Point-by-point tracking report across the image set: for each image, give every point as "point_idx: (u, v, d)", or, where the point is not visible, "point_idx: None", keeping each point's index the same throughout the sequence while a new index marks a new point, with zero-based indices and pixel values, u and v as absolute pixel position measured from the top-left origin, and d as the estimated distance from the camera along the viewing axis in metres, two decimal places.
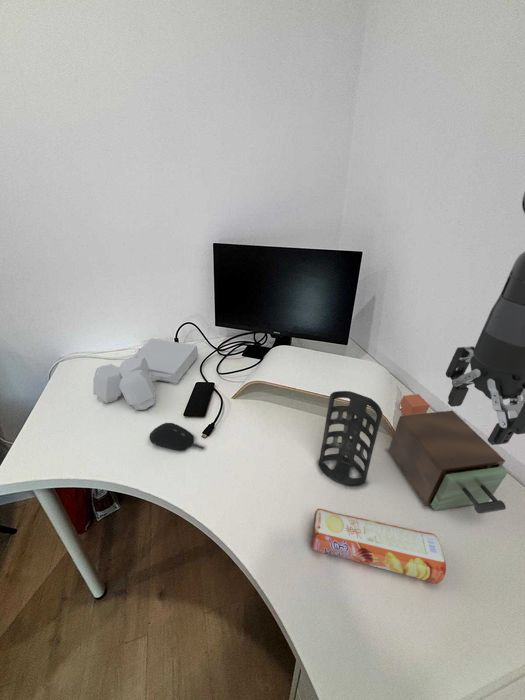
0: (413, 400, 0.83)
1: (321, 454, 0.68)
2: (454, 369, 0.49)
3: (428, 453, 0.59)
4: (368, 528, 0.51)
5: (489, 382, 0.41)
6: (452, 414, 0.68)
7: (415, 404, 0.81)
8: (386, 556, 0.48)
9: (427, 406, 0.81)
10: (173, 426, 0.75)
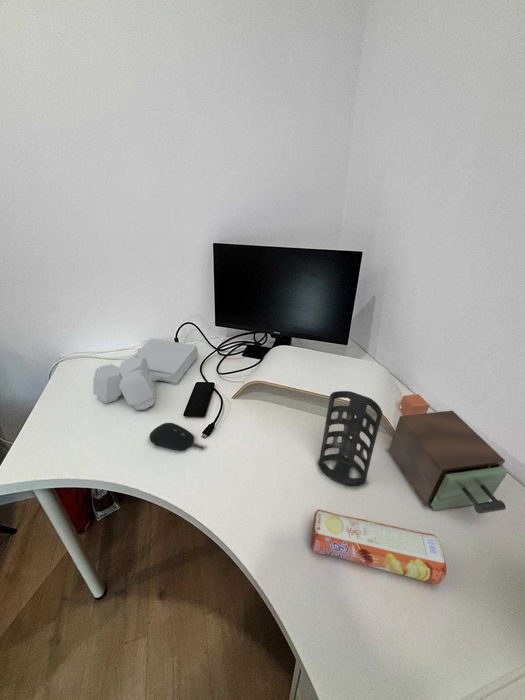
0: (413, 400, 0.83)
1: (321, 454, 0.68)
2: None
3: (428, 453, 0.59)
4: (368, 529, 0.51)
5: None
6: (452, 414, 0.68)
7: (415, 404, 0.81)
8: (386, 557, 0.48)
9: (427, 406, 0.81)
10: (173, 426, 0.75)
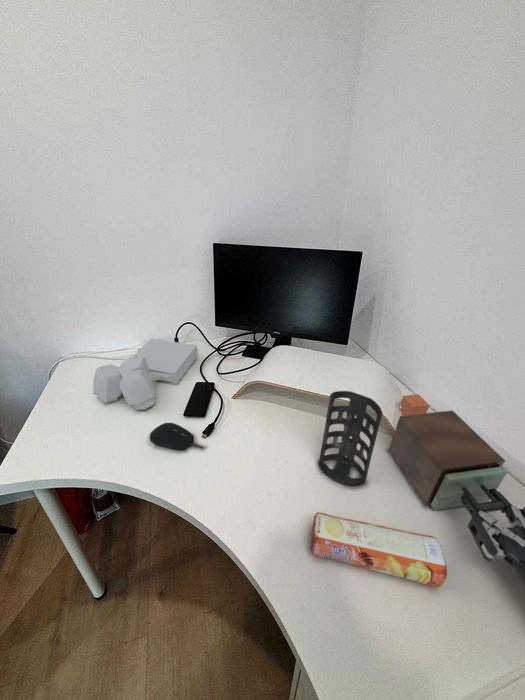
0: (413, 400, 0.83)
1: (321, 454, 0.68)
2: None
3: (428, 453, 0.59)
4: (368, 531, 0.50)
5: (523, 541, 0.47)
6: (452, 414, 0.68)
7: (415, 404, 0.81)
8: (386, 560, 0.47)
9: (427, 406, 0.81)
10: (173, 425, 0.75)
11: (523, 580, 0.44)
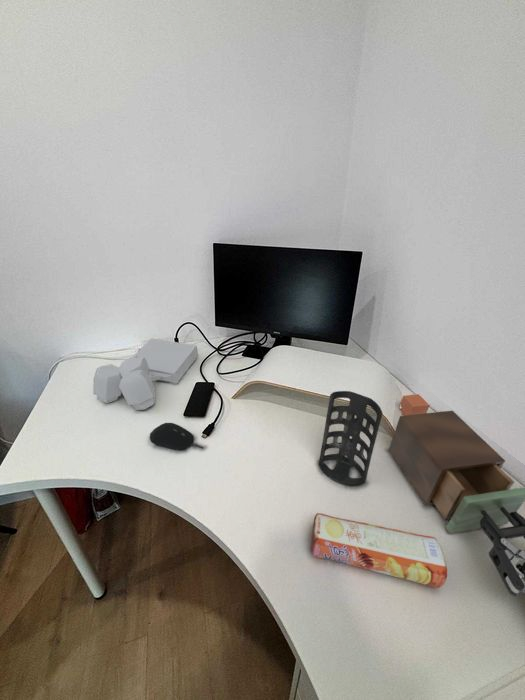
0: (413, 400, 0.83)
1: (321, 454, 0.68)
2: None
3: (428, 453, 0.59)
4: (368, 532, 0.50)
5: None
6: (452, 414, 0.68)
7: (415, 404, 0.81)
8: (386, 561, 0.47)
9: (427, 406, 0.81)
10: (173, 425, 0.75)
11: None
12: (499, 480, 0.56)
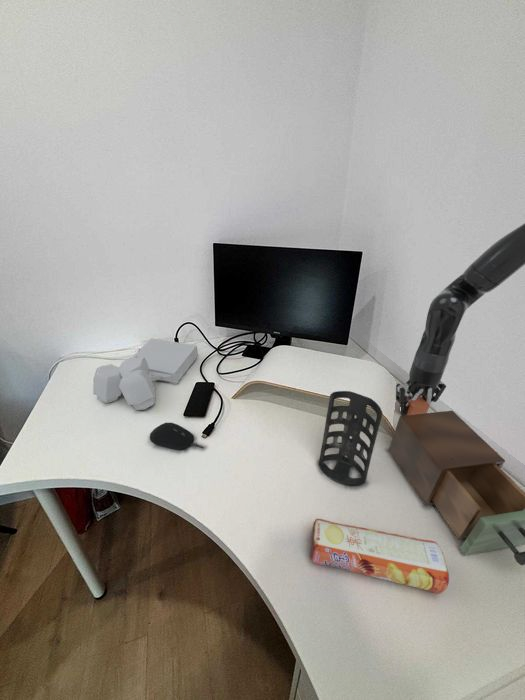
0: None
1: (321, 454, 0.68)
2: None
3: (428, 453, 0.59)
4: (368, 538, 0.49)
5: None
6: (452, 414, 0.68)
7: (415, 404, 0.81)
8: (387, 567, 0.46)
9: (427, 406, 0.81)
10: (173, 425, 0.75)
11: (414, 377, 0.77)
12: (516, 498, 0.53)
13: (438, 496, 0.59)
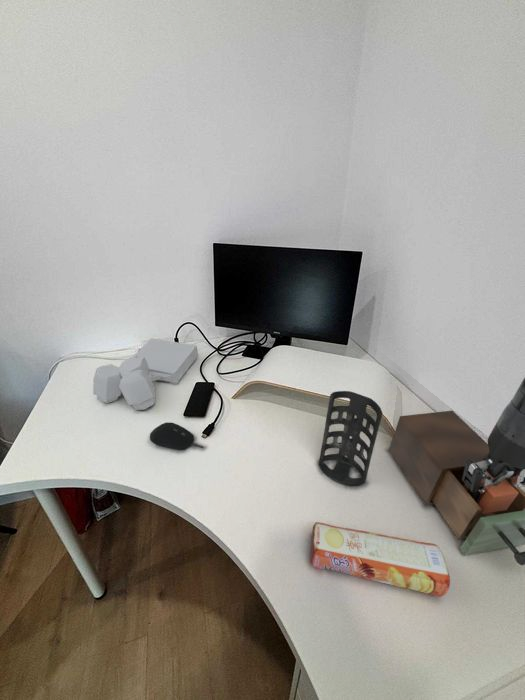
0: None
1: (321, 454, 0.68)
2: None
3: (428, 453, 0.59)
4: (369, 541, 0.49)
5: None
6: (452, 414, 0.68)
7: (495, 491, 0.51)
8: (388, 571, 0.46)
9: (515, 494, 0.50)
10: (173, 425, 0.75)
11: (500, 453, 0.47)
12: (516, 498, 0.53)
13: (438, 496, 0.59)
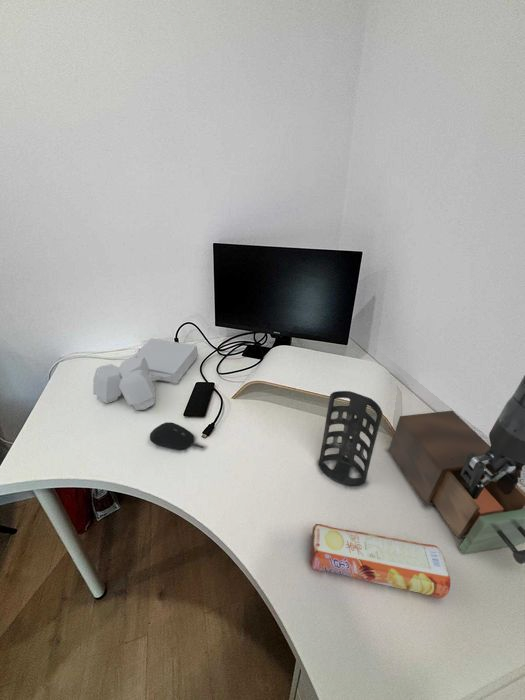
0: (478, 498, 0.55)
1: (321, 454, 0.68)
2: None
3: (428, 453, 0.59)
4: (369, 543, 0.49)
5: None
6: (452, 414, 0.68)
7: (482, 507, 0.53)
8: (388, 573, 0.46)
9: (500, 510, 0.53)
10: (173, 425, 0.75)
11: (502, 448, 0.46)
12: (515, 497, 0.53)
13: (437, 495, 0.59)
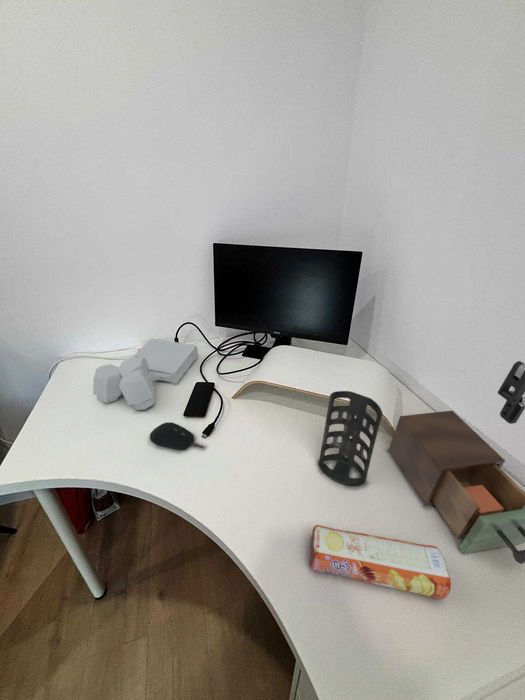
0: (478, 498, 0.55)
1: (321, 454, 0.68)
2: None
3: (428, 453, 0.59)
4: (369, 544, 0.48)
5: None
6: (452, 414, 0.68)
7: (482, 507, 0.54)
8: (389, 574, 0.46)
9: (500, 510, 0.53)
10: (173, 425, 0.75)
11: None
12: (515, 497, 0.53)
13: (437, 495, 0.59)
